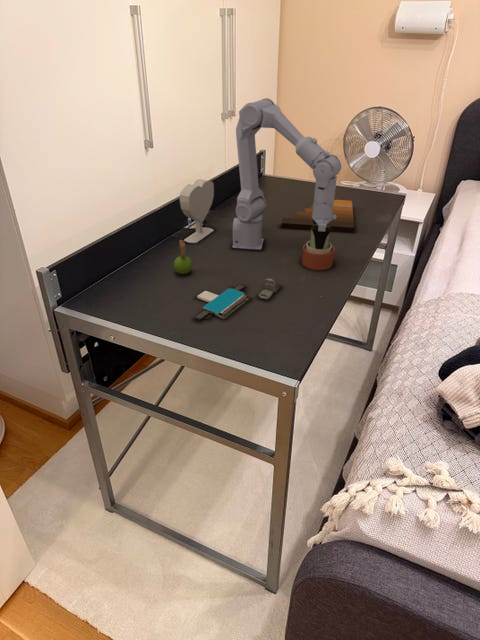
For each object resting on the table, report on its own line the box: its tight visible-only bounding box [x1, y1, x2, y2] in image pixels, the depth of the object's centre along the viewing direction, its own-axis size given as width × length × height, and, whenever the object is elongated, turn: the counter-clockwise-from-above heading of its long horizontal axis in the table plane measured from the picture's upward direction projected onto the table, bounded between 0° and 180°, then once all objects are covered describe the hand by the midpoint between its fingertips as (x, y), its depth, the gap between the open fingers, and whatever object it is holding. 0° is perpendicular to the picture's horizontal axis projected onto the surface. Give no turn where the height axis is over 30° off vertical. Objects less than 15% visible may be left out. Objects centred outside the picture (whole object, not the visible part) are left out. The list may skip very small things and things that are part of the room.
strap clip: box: [258, 277, 281, 301], centre depth 130 cm, size 8×3×4 cm, turn 150°
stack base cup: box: [301, 243, 336, 271], centre depth 144 cm, size 10×10×5 cm
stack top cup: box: [305, 240, 333, 254], centre depth 144 cm, size 8×8×6 cm
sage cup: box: [309, 224, 331, 250], centre depth 141 cm, size 6×6×7 cm
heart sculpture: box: [179, 179, 215, 244], centre depth 158 cm, size 16×5×18 cm, turn 152°
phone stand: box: [195, 284, 250, 321], centre depth 126 cm, size 20×12×2 cm, turn 146°
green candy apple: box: [173, 239, 193, 275], centre depth 136 cm, size 5×6×12 cm
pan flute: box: [281, 199, 355, 233], centre depth 175 cm, size 25×3×25 cm
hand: (319, 244), depth 142 cm, fingers closed on sage cup, 5 cm apart
